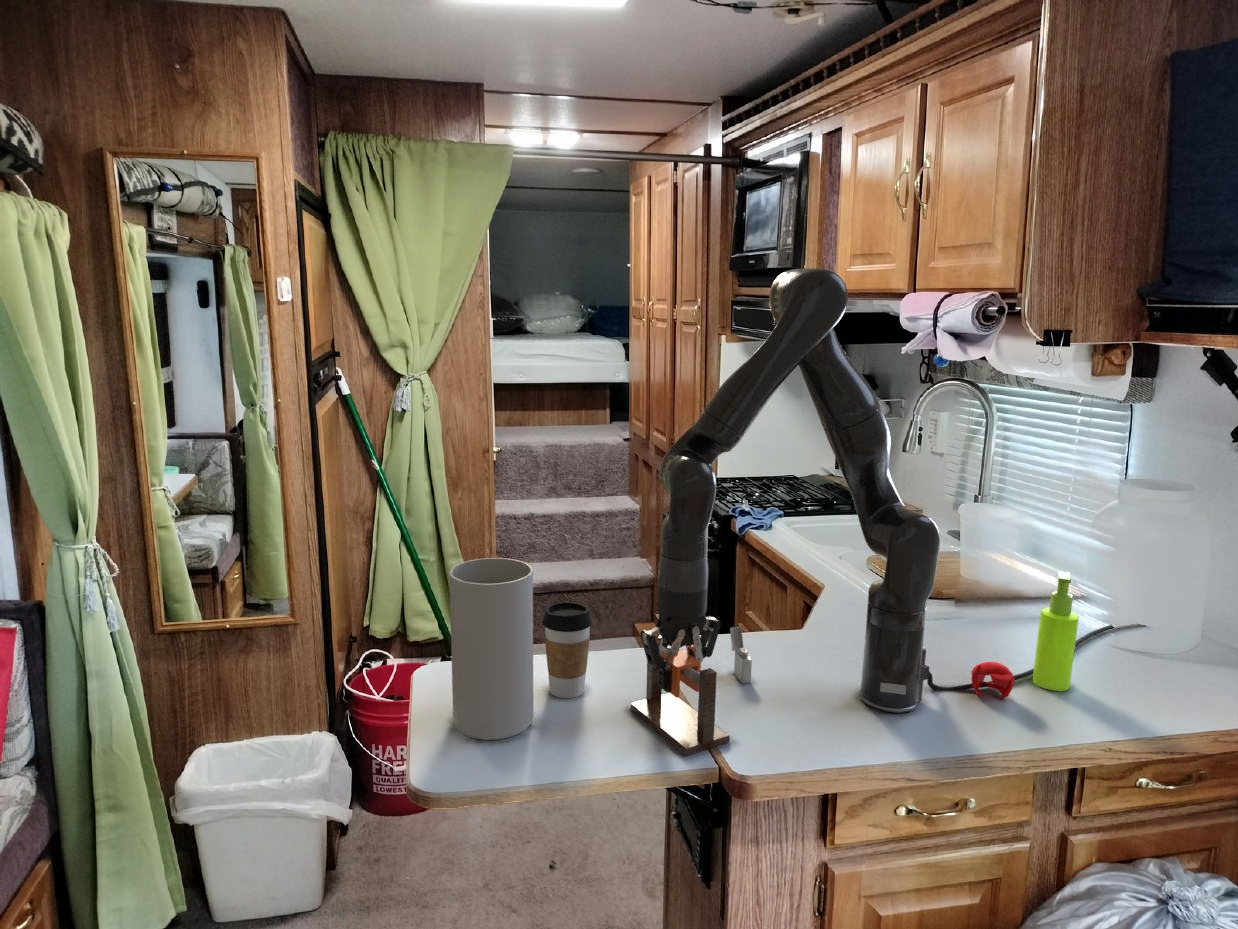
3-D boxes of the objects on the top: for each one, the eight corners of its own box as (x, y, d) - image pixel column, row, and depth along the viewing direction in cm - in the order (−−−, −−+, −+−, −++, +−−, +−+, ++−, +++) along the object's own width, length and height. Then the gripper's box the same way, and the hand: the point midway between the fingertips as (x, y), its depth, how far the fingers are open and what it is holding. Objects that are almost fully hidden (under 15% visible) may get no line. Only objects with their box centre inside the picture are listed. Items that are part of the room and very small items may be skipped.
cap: (959, 687, 148) (962, 655, 147) (986, 682, 150) (990, 651, 149) (993, 708, 141) (997, 674, 139) (1021, 703, 143) (1025, 670, 142)
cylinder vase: (451, 706, 138) (447, 560, 133) (527, 699, 141) (527, 555, 136) (455, 746, 126) (451, 587, 121) (538, 737, 129) (538, 581, 124)
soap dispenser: (1068, 677, 152) (1082, 571, 148) (1070, 693, 146) (1084, 583, 142) (1032, 671, 155) (1045, 566, 151) (1032, 686, 149) (1046, 578, 145)
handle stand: (671, 698, 142) (673, 630, 140) (729, 742, 129) (733, 667, 126) (630, 709, 138) (631, 639, 136) (686, 756, 125) (688, 679, 122)
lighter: (751, 682, 149) (753, 639, 147) (741, 683, 148) (743, 640, 147) (737, 665, 155) (739, 624, 154) (728, 666, 155) (729, 624, 153)
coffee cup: (554, 706, 139) (554, 620, 136) (534, 685, 146) (534, 602, 143) (600, 696, 143) (601, 611, 140) (579, 675, 150) (579, 595, 147)
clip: (681, 678, 135) (682, 649, 134) (699, 691, 131) (700, 661, 130) (658, 684, 133) (659, 655, 132) (676, 698, 129) (677, 667, 128)
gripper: (656, 597, 122) (653, 707, 125) (735, 582, 129) (730, 686, 133) (630, 582, 128) (627, 687, 132) (706, 568, 135) (702, 668, 139)
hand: (679, 686), depth 132 cm, fingers closed on clip, 4 cm apart
